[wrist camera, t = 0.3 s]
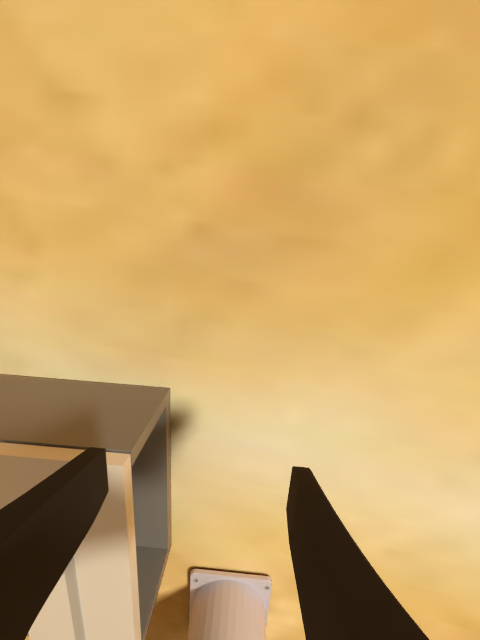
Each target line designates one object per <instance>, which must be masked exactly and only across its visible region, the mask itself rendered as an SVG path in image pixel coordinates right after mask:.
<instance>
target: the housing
mask: <svg viewBox="0 0 480 640" xmlns="http://www.w3.org/2000/svg"><path fill="white" fill-rule="evenodd" d="M1 442H3V443H14V444H25V445H36V446H47V447H58V448H69V449H81V450H86V449H88V448H89V447H95V448H105V449H106V452H114V453H125V454H130V456H131V473H132V490H133V507H134V525H135V542H136V559H137V576H138V593H139V610H140V627H141V640H145V638H146V634H147V631H148V627H149V624H150V620H151V616H152V613H153V609H154V606H155V602H156V598H157V595H158V591H159V588H160V584H161V581H162V577H163V573H164V570H165V566H166V563H167V559H168V555H169V552H170V548H171V441H170V388H163V387H150V386H138V385H126V384H114V383H102V382H90V381H77V380H65V379H53V378H41V377H29V376H17V375H4V374H0V443H1ZM27 636H29V634H27Z"/></svg>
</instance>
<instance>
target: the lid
mask: <svg viewBox="0 0 480 640" xmlns="http://www.w3.org/2000/svg"><path fill="white" fill-rule="evenodd" d="M84 451H85V450H81V449H69V448H58V447H47V446H36V445H25V444H14V443H3V442H1V443H0V509H2V508H3V507H5V506H6V505H8V504H9V503H11V502H12V501H14V500H15V499H17V498H18V497H20V496H21V495H23V494H24V493H26V492H27V491H28V490H30V489H31V488H33V487H34V486H36V485H37V484H38V483H40V482H41V481H43V480H44V479H46V478H47V477H48V476H50V475H51V474H53V473H54V472H55V471H57V470H58V469H60V468H61V467H62V466H64V465H65V464H67V463H68V462H69V461H71V460H72V459H74V458H75V457H76V456H78V455H79V454H81V453H82V452H84ZM106 462H107V474H108V487H109V492H108V494H107V496H106V498H105V500H104V502H103V504H102V507H101V509H100V511H99V513H98V515H97V517H96V519H95V521H94V523H93V524H92V526H91V528H90V530H89V531H88V533H87V535H86V536H85V538H84V540H83V541H82V543H81V545H80V546H79V548H78V550H77V551H76V553H75V554H74V556H73V558H72V559H71V561H70V563H69V564H68V566H67V568H66V569H65V571H64V573H63V574H62V576H61V577H60V579H59V581H58V582H57V584H56V586H55V587H54V589H53V591H52V592H51V594H50V596H49V597H48V599H47V600H46V602H45V604H44V605H43V607H42V609H41V611H40V612H39V614H38V616H37V618H36V619H35V621H34V623H33V625H32V626H31V628H30V630H29V632H28V634H29V638H30V640H141V627H140V610H139V593H138V576H137V559H136V542H135V525H134V507H133V490H132V473H131V456H130V454H125V453H114V452H106Z"/></svg>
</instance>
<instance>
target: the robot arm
mask: <svg viewBox="0 0 480 640" xmlns="http://www.w3.org/2000/svg"><path fill="white" fill-rule="evenodd" d="M108 492H109V487H108V474H107V462H106V449H105V448H95V447H89V448H88V449H86V450H85V451H84V452H82V453H81V454H79V455H78V456H76V457H75V458H74V459H72V460H71V461H69V462H68V463H67V464H65V465H64V466H62V467H61V468H60V469H58V470H57V471H55V472H54V473H53V474H51V475H50V476H48V477H47V478H46V479H44V480H43V481H41V482H40V483H38V484H37V485H36V486H34V487H33V488H31V489H30V490H28V491H27V492H26V493H24V494H23V495H21V496H20V497H18V498H17V499H15V500H14V501H12V502H11V503H9V504H8V505H6V506H5V507H3V508H2V509H0V640H25V638H26V636H27V634H28V632H29V630H30V628H31V626H32V625H33V623H34V621H35V619H36V618H37V616H38V614H39V612H40V611H41V609H42V607H43V605H44V604H45V602H46V600H47V599H48V597H49V596H50V594H51V592H52V591H53V589H54V587H55V586H56V584H57V582H58V581H59V579H60V577H61V576H62V574H63V573H64V571H65V569H66V568H67V566H68V564H69V563H70V561H71V559H72V558H73V556H74V554H75V553H76V551H77V550H78V548H79V546H80V545H81V543H82V541H83V540H84V538H85V536H86V535H87V533H88V531H89V530H90V528H91V526H92V524H93V523H94V521H95V519H96V517H97V515H98V513H99V511H100V509H101V507H102V504H103V502H104V500H105V498H106V496H107V494H108ZM286 511H287V523H288V535H289V544H290V550H291V556H292V562H293V568H294V573H295V579H296V585H297V591H298V596H299V602H300V608H301V613H302V619H303V625H304V630H305V636H306V640H429V639H428V637H427V636H426V635H425V634H424V633H423V631H422V630H421V629H420V628H419V627H418V625H417V624H416V623H415V622H414V620H413V619H412V618H411V617H410V615H409V614H408V613H407V612H406V611H405V609H404V608H403V607H402V605H401V604H400V603H399V602H398V600H397V599H396V598H395V596H394V595H393V594H392V593H391V591H390V590H389V589H388V587H387V586H386V585H385V583H384V582H383V581H382V579H381V578H380V577H379V575H378V574H377V573H376V571H375V570H374V569H373V567H372V566H371V564H370V563H369V562H368V560H367V559H366V557H365V556H364V554H363V553H362V552H361V550H360V549H359V547H358V546H357V544H356V543H355V541H354V540H353V539H352V537H351V536H350V534H349V532H348V531H347V529H346V528H345V526H344V525H343V523H342V522H341V520H340V519H339V517H338V515H337V514H336V512H335V511H334V509H333V507H332V506H331V504H330V502H329V501H328V499H327V497H326V496H325V494H324V492H323V491H322V489H321V487H320V485H319V484H318V482H317V480H316V478H315V477H314V475H313V473H312V471H311V470H310V469H309V468H305V467H295V466H293V467H292V474H291V481H290V487H289V494H288V501H287V507H286ZM271 587H272V579H271V578H270V577H269V576H262V575H252V574H243V573H233V572H223V571H214V570H204V569H193V570H191V574H190V610H189V630H188V636H187V640H266V624H267V616H268V609H269V602H270V595H271Z"/></svg>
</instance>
